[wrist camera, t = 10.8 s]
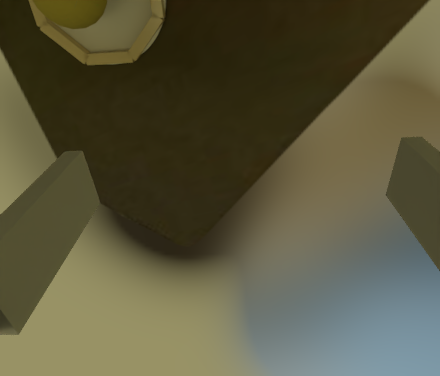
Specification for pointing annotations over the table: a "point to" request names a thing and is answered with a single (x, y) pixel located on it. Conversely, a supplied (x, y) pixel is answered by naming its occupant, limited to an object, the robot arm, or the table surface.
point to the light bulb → (72, 12)
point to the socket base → (110, 32)
